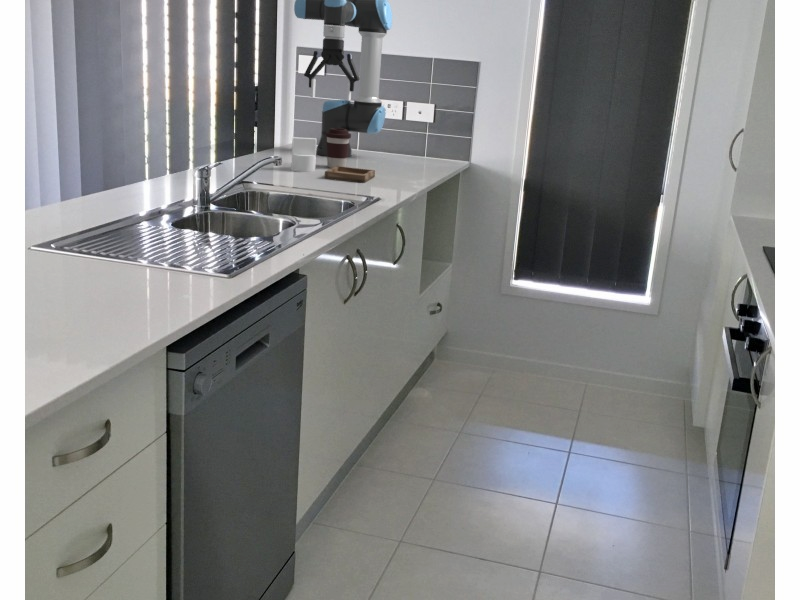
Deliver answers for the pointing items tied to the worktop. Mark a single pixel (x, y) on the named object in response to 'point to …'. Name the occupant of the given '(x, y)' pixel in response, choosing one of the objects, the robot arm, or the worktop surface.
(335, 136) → the coffee cup
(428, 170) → the worktop surface
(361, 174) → the tray
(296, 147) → the white box
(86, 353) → the worktop surface
